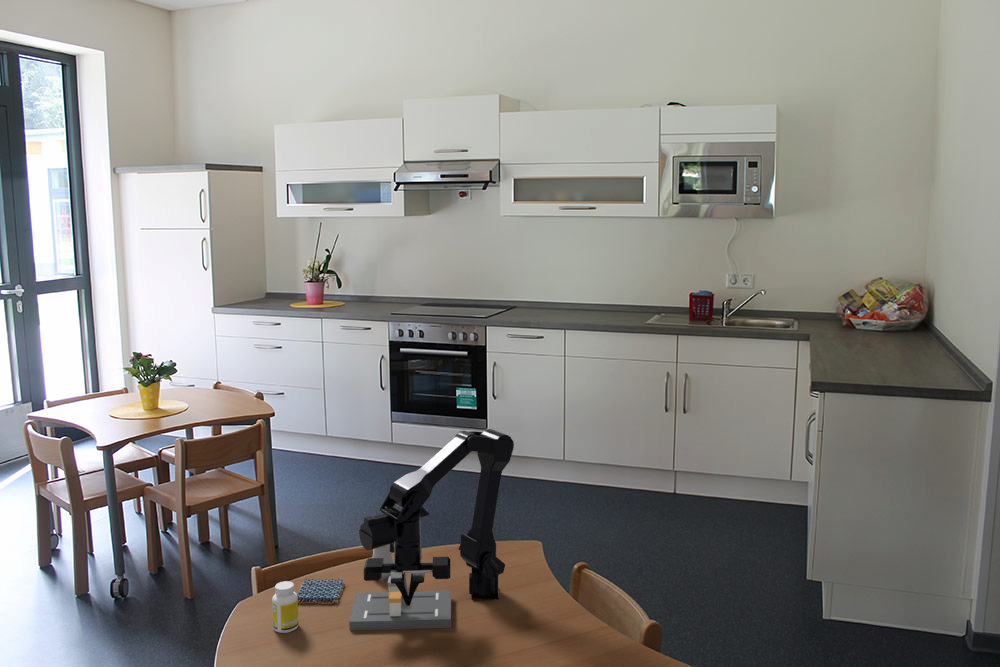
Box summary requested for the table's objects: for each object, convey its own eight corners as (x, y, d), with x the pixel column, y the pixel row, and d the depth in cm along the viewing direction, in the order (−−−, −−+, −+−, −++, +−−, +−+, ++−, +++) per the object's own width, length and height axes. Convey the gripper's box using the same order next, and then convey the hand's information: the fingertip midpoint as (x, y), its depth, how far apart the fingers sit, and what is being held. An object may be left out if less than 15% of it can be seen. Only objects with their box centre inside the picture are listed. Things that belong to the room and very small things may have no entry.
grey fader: (400, 592, 187) (400, 576, 186) (399, 599, 184) (399, 582, 183) (389, 593, 187) (389, 576, 186) (388, 599, 184) (387, 582, 183)
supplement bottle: (303, 623, 178) (302, 581, 176) (289, 635, 173) (288, 593, 171) (282, 619, 180) (281, 577, 178) (268, 631, 174) (266, 588, 173)
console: (451, 598, 189) (451, 590, 189) (450, 627, 176) (450, 619, 176) (356, 600, 188) (356, 592, 187) (349, 630, 175) (349, 621, 175)
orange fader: (402, 609, 180) (401, 591, 179) (401, 616, 177) (400, 598, 176) (390, 609, 180) (390, 591, 179) (389, 616, 176) (388, 598, 176)
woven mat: (346, 585, 197) (346, 577, 196) (338, 606, 186) (337, 598, 186) (303, 585, 197) (303, 577, 196) (292, 606, 186) (292, 598, 186)
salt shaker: (396, 572, 202) (395, 523, 200) (391, 582, 197) (390, 532, 195) (373, 571, 203) (372, 522, 201) (368, 581, 197) (366, 531, 195)
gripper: (450, 522, 184) (450, 586, 186) (367, 524, 183) (369, 588, 185) (450, 542, 173) (450, 610, 175) (362, 544, 172) (364, 612, 174)
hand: (408, 604), depth 178 cm, fingers closed
